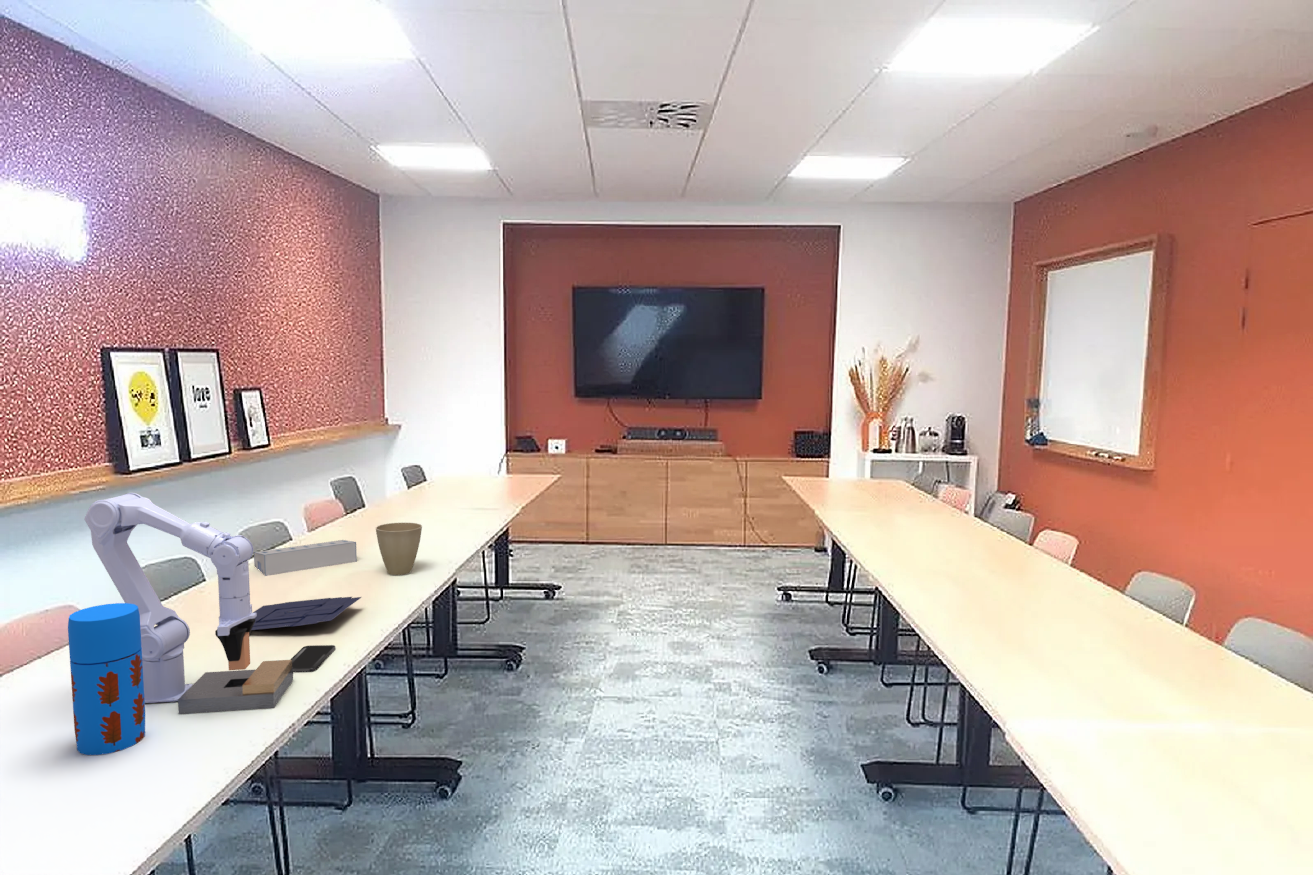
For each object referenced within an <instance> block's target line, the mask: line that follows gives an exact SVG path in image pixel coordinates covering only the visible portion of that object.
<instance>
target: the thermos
mask: <svg viewBox="0 0 1313 875" xmlns="http://www.w3.org/2000/svg"><path fill="white" fill-rule="evenodd" d="M67 622H68V623H67V636H68V650H69V666H70V668H69V669H70V678H71V680H70V681H71V694H72V697H71V698H72V710H73V726H74V738H75V743H76V744H75V745H76V750H77V752H78V753H79V754H81V755H85V756H101V755H107V754H111V753H116V752H120V751H123V750H125V749H128V748H130V747H132V746H134V745H136V744H138V743H139V742H141V741H142V740H143V739H144V738H145V736H146V703H145V699H144V681H143V664H142V647H141V628H140V614H139V609H138V606H137V605H135V604H129V603H125V602H124V603H123V602H121V603H120V602H118V603H117V602H116V603H106V604H100V605H99V604H98V605H95V606H90V607H86V608H83V609H79V610H77V611H74V612H73V613H71V614H69V616H68V621H67Z"/></svg>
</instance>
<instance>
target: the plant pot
mask: <svg viewBox="0 0 1313 875" xmlns="http://www.w3.org/2000/svg"><path fill="white" fill-rule="evenodd" d="M422 528H423V525H422V524H420V523H417V522H391V523H384V524H380V525H377V526H376V527H375V532H376V534H375V535H376V538H377V544H378V547H379V552H380V555H381V559H382V561H383V564H384V566H385V570H386V572H387V574H388V575H390V576H405V575H407V574H408V575H410V574H411V572H412V569H413V567H414V565H415V561H416V558H417V554H418V552H419V547H420V542H421V536H422Z"/></svg>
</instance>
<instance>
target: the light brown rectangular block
mask: <svg viewBox="0 0 1313 875" xmlns="http://www.w3.org/2000/svg"><path fill="white" fill-rule="evenodd" d="M250 646H251V645H250V636H249V632H245V634H244V637H243V641H242V649H241V657H240V660H239V661H228V660H227V661H228V662H227V663H228V664H227V665H228V671H238V670H247V668H248V667H249V666H250V664H251V649H250Z"/></svg>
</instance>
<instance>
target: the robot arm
mask: <svg viewBox="0 0 1313 875" xmlns="http://www.w3.org/2000/svg"><path fill="white" fill-rule="evenodd" d="M84 521H85V523H86V525H87V527H88V529H89V530H90V537H91V544H92V547H93V550H94V551H95V553H96V555H97V556H98V558H99V560H100V562H101V563H102V565H103V567H104V569H105V571H106V572H107V574H108V575H109V578H110V579H111V582H112V583H113V585H114V586H115V588H116V589H117V591H118V593H119V595H120V597H121V598H122V601H123V602H124V603H129V604H135V605H137V606H138V609H139V614H140V628H141V647H142V664H143V681H144V699H145V704H152V703H169V702H170V703H171V702H178V699H179V698H180V697H181V696H182V695H183V694H184V693H185V692H186V691H187V690H188V689H189V688H190V687H191V686H192V685H193V684H194V683H186V680H185V678H186V676H185V659H184V658H185V657H184V649H185V643H186V642H187V641H188V640H189V638H190V635H191V634H190V633H191V632H190V626H189V625H188V624H187V622H186V621H185V620H184V619H182V618H181V617H179V615H178V614H177V612H176V611H175V610H174V609H172V608H169V607H165V606H164V605H163V604H162V602H161V600H160V598H159V596H158V595H157V593H156V591H155V590H154V588H153V586H152V585H151V582H150V581H149V579H148V577H147V576H146V574H145V572H144V570H143V568H142V566H141V565H140V563H139V561H138V560H137V557H136V556H135V554H134V553H133V550H132V549H131V547H130V545H129V544H128V540H129V538H130V536H131V533H132V531H133V530H134V529H135V528H136V527H137V526H138V525H146V526H148V527H151V528H154V529H157V530H159V531H162V532H164V533H166V534H169V535H172V536H174V537H177V538H179V539H180V541H181V544H182V546H183V547H185V548H187V549H189V550H191V551H194V552H196V553H198V554H201V555H202V556H204V557H206V558H209V559H210V561H211V563H212V564H213V566H214V567H215V568H216V575H217V582H218V585H217V586H218V602H219V603H218V604H219V616H218V625H217V629H216V630H215V637H216V638H217V639H218V640H219V642H220V643H221V645H222V647H223V651H224V654H225V656H226V658H227V661H239V660H240V657H241V649H242V641H243V637H244V634H245V632H249V637H250V635H251V633H252V630H251V629H252V627H253V625H254V623H255V617H256V616H257V613H253V604H251V593H250V592H251V588H250V570H249V568H250V567H249V560H250V559H251V558H252V556H253V555H254V546H253V543H252V542H251V541H250V539H249V538H247V537H246V536H244V535H241V534H237V535H234V536H232V535H231V533H230V532H228V531H226V532H225V531H224V532H223V531H221V530H220V529H216V528H215V527H213V526H210V525H211V524H210V522H208V521H205V520H204V521H195V522H191V523H190V522H188V521H186V520H184V519H182V518H180V517H178V516H177V515H176V514H173V513H172V512H169V511H168V510H166V509H164V508H162V507H160V506H158V505H156V504H154V503H153V502H152V501H151V499H150V498H149V497H145V496H142V495H140V494H138V493H136V492H128V493H125V494H122V495H119V496H114V497H109V498H105V499H98V500H96V501H94V502H92V504H90V505H89V508H88V510H87V512H86V514H85V516H84Z"/></svg>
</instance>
